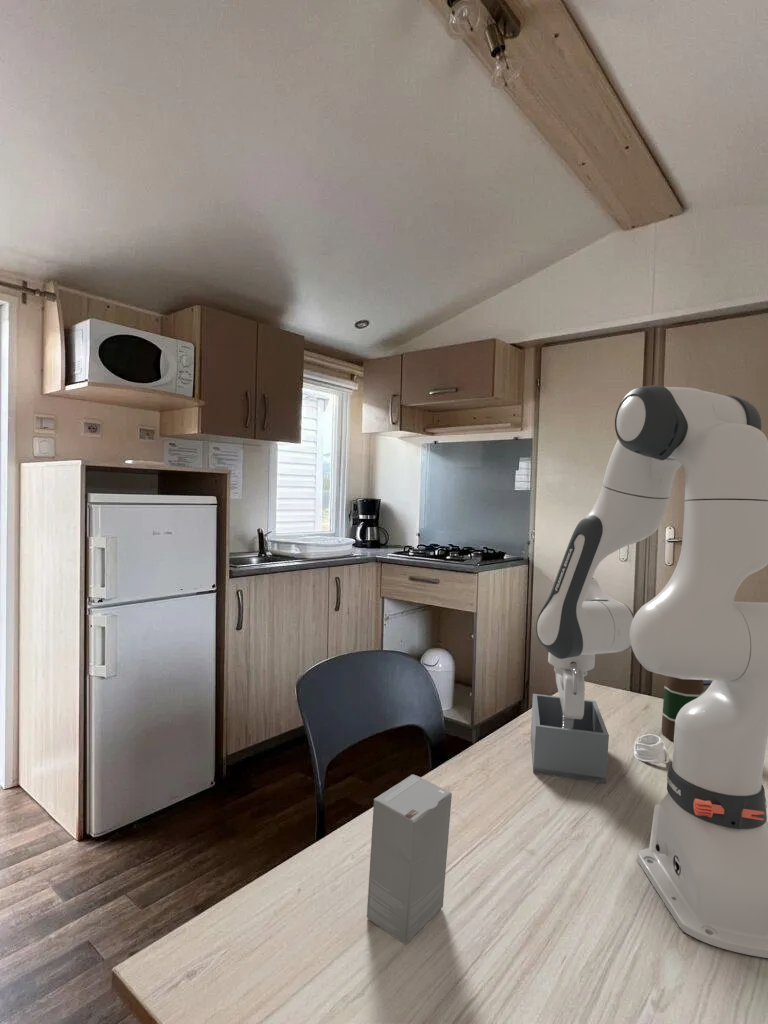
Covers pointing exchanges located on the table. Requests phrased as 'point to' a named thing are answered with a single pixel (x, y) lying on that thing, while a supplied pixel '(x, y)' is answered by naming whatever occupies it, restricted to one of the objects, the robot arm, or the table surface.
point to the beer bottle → (677, 700)
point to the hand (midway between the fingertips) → (567, 723)
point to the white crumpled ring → (650, 749)
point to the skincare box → (408, 856)
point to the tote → (568, 741)
